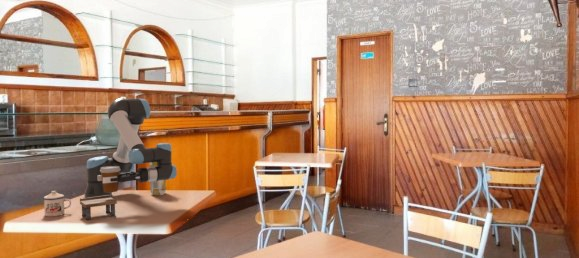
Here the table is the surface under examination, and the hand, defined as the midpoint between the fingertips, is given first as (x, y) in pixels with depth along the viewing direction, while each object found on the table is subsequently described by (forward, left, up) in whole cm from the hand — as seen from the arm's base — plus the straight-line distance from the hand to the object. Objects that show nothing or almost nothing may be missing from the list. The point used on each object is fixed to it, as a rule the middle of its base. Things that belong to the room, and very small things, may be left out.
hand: (100, 179), depth 210 cm
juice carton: (-34, +41, -18) cm, 56 cm away
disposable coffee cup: (0, +5, -7) cm, 8 cm away
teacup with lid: (-17, -16, -18) cm, 30 cm away
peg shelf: (0, -1, -18) cm, 18 cm away
